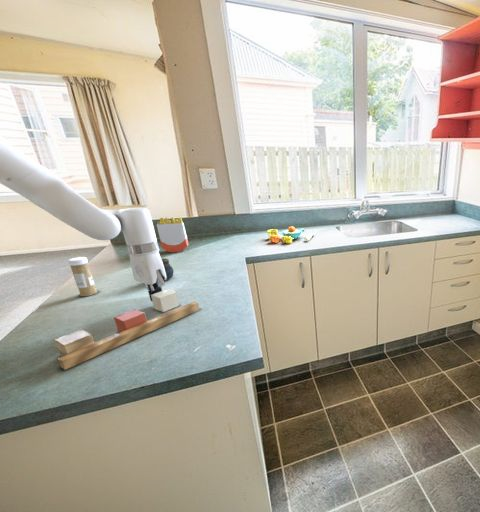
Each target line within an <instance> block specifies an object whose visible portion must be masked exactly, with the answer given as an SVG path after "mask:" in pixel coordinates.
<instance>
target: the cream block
mask: <svg viewBox="0 0 480 512" xmlns="http://www.w3.org/2000/svg"><path fill="white" fill-rule="evenodd" d="M151 298H152V301H151V302H152V305H153V309H154V310H156V311H159V312H161V313H166V312H169V311H171V310H172V309H173V310H174V309H175V308H178V307H179V306H180V301H179V298H178V293H177V291H174V290H171V289H169V288H167V289H164V290H163V289H162V291H161V292H158V293H155V294H152V295H151Z"/></svg>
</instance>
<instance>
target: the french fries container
mask: <svg viewBox="0 0 480 512" xmlns="http://www.w3.org/2000/svg"><path fill="white" fill-rule="evenodd" d="M156 227H157V233H158V236H159V241H160V245H161V249H163V250H164V251H166V252H167V253H180V252H183V251H184V250H185V249H186V248H187V247H188V246H189V240H188V235H187V232H186V227H185V223H184V222H183V219H182V217H178V218H175V217H174V216H171V220H170V219H168V217H165V218H164V217H159V221H158V222H157V224H156Z"/></svg>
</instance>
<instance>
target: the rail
mask: <svg viewBox="0 0 480 512" xmlns="http://www.w3.org/2000/svg"><path fill="white" fill-rule="evenodd" d="M198 311H200V306H199V302H196V301H193V302H190V303H188V304H185V305H183V306H180V307H177V308H176V309H175V308H174V309H173V310H170V311H167V312H165V313H163V314H160V315H159V316H156V317H154V318H152V319H148V320H147V322H144V323H142V324H139V325H137V326H135V327H132V328H130V329H127V330H125V331H123V332H120V333H119V332H117V333H115V334H113V335H110V336H108V337H106V338H104V339H101V340H99V341H96V342H94V344H91V345H89V346H86V347H84V348H82V349H79V350H77V351H74V352H72V353H70V354H67V355H65V356H62V357H61V356H59V357H58V358H57V360H58V363H59V365H60V368H61V369H63V370H64V371H65V370H68V369H70V368H72V367H75V366H77V365H79V364H82V363H84V362H86V361H88V360H91V359H93V358H96V357H97V356H99V355H101V354H104V353H106V352H108V351H110V350H113V349H115V348H117V347H119V346H122V345H124V344H127V343H129V342H131V341H133V340H135V339H137V338H139V337H142V336H144V335H146V334H150V333H151V332H153V331H155V330H158V329H160V328H162V327H164V326H166V325H169V324H171V323H173V322H176V321H179V320H180V319H182V318H184V317H187V316H189V315H191V314H193V313H196V312H198Z"/></svg>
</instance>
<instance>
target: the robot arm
mask: <svg viewBox="0 0 480 512" xmlns="http://www.w3.org/2000/svg"><path fill="white" fill-rule="evenodd" d="M12 145H13V144H11V143H10V142H9V141H8V140H7V139H6V138H5V137H3V136H1V135H0V184H1V185H3V186H4V187H6V188H8V189H10V190H11V191H13V192H14V193H16V194H18V195H20V196H21V197H23V198H25V199H27V200H28V201H30V203H32V204H34V205H35V206H37V207H39V208H40V209H42V210H44V211H45V212H47V213H48V214H49V215H51V216H52V217H54V218H56V219H57V220H59V221H61V222H62V223H64V224H66V225H68V226H69V227H71V228H73V229H75V230H76V231H78V232H79V233H82V234H84V235H85V236H87V237H89V238H92V239H94V240H98V241H110V240H112V239H114V238H117V237H118V236H119V234H120V233H121V232H122V234H123V237H124V241H125V245H126V248H127V251H128V253H129V254H128V255H129V261H130V267H131V271H132V276H133V279H134V280H135V281H136V282H139V283H142V284H144V285H145V288H146V290H147V292H148V296H149V299H150V302H152V298H151V295H152V294H155V293H158V292H161V291H163V287H165V286H166V284H165V280H166V272H165V268H164V265H163V262H162V259H163V258H162V257H161V255H160V252H159V251H160V247H159V243H158V237H157V234H156V231H155V226H154V223H153V219H152V215H151V211H150V210H149V209H148V208H146V207H128V208H122V209H107V208H106V209H101V208H100V207H98V206H97V205H95V204H94V203H92V202H90V201H89V200H87V199H86V198H85V197H83V196H82V195H81V194H79V193H78V192H76V191H75V190H74V189H73V188H72V187H71V186H70V185H69V184H68V183H67V182H66V181H65V180H64V179H62V178H61V177H60V176H58V175H57V174H56V173H55V172H53V171H51V170H50V169H48V168H47V167H45V166H44V165H42V164H40V163H39V162H37V161H35V160H34V159H33V158H31V157H29V156H28V155H26V154H25V153H23V152H22V151H20V150H19V149H17V148H16V147H14V146H12ZM166 281H167V280H166Z"/></svg>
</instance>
